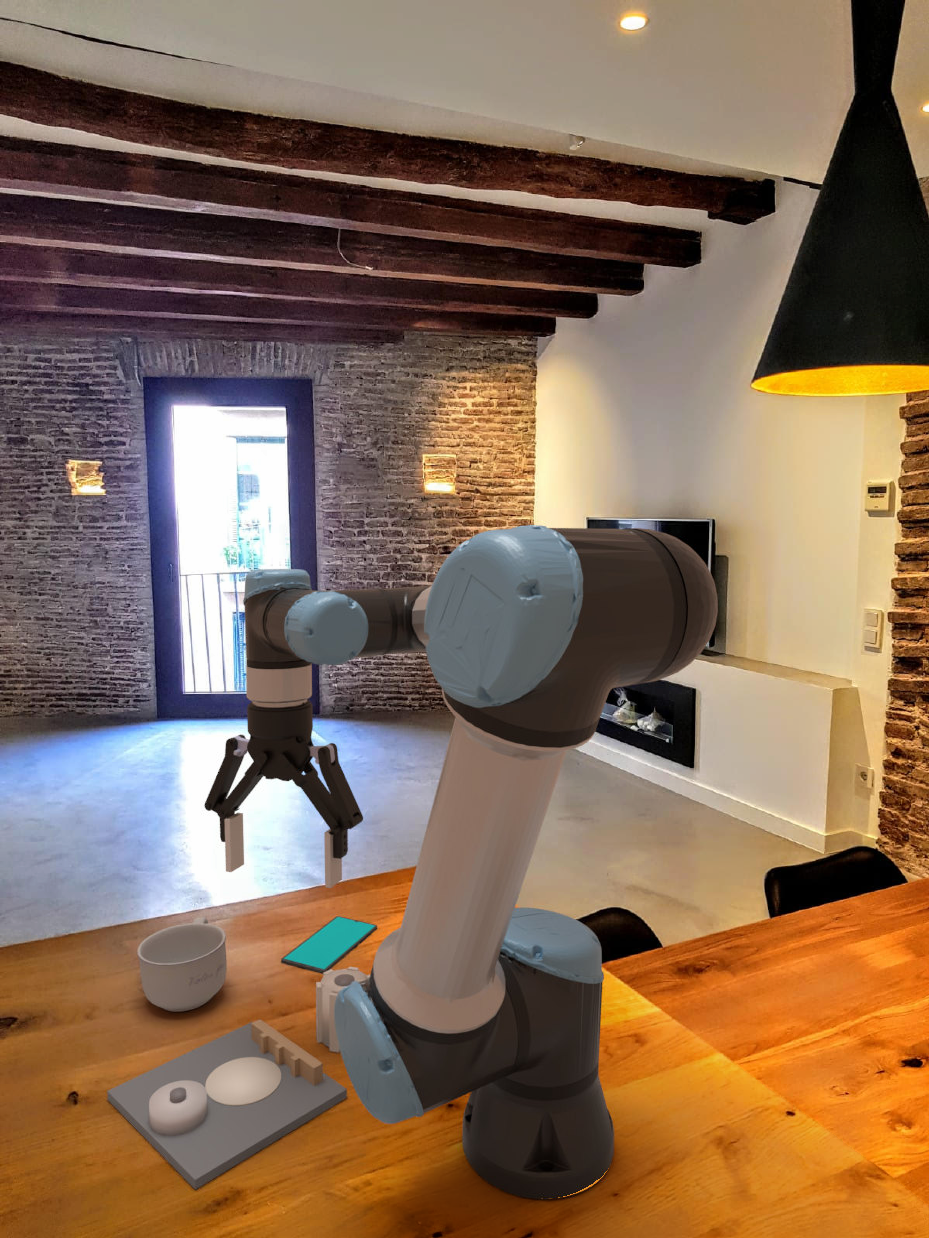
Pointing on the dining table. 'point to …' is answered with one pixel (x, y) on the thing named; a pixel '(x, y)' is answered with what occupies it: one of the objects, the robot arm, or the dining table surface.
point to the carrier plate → (226, 1100)
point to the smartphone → (329, 944)
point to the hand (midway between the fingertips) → (283, 875)
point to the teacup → (183, 965)
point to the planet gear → (332, 1002)
